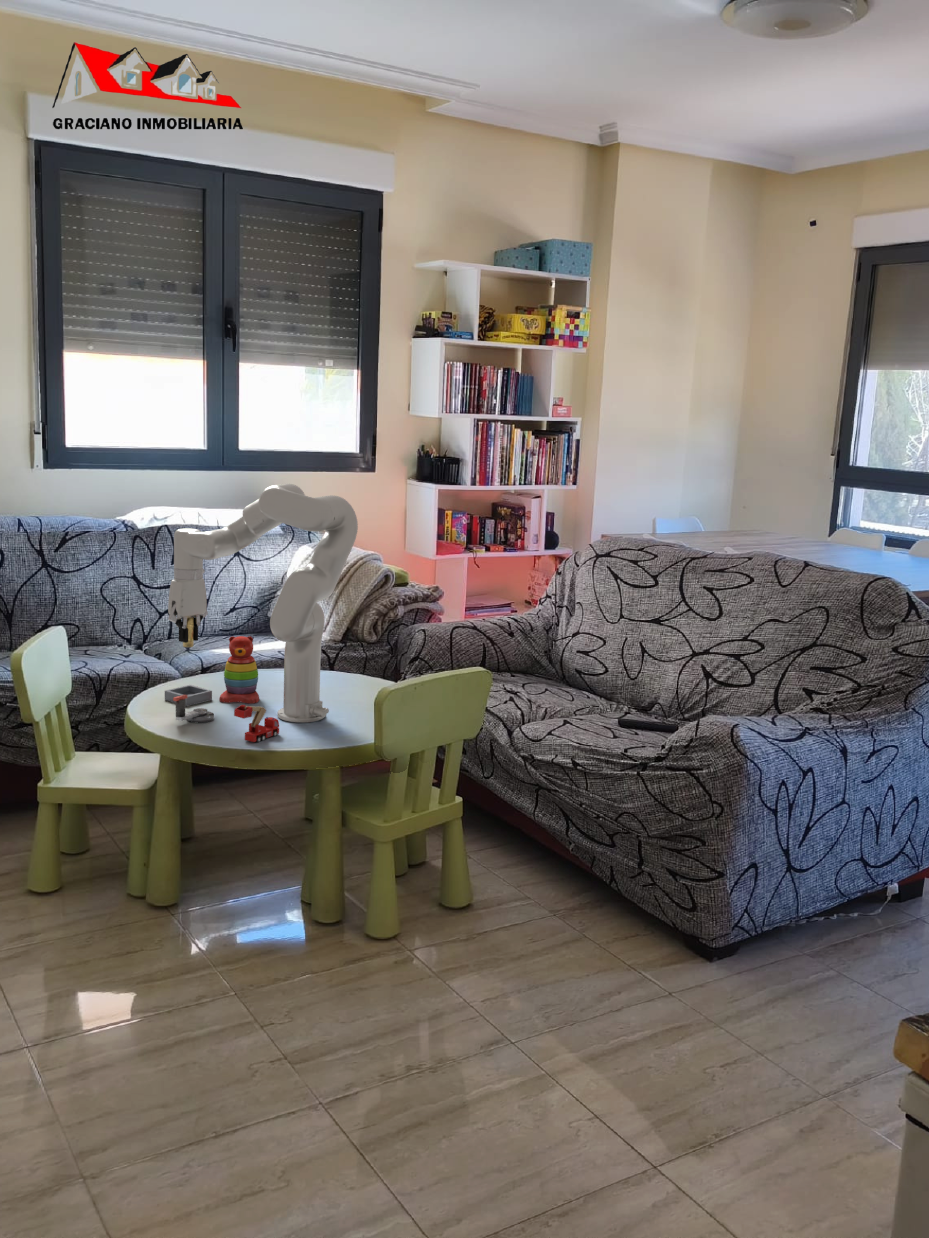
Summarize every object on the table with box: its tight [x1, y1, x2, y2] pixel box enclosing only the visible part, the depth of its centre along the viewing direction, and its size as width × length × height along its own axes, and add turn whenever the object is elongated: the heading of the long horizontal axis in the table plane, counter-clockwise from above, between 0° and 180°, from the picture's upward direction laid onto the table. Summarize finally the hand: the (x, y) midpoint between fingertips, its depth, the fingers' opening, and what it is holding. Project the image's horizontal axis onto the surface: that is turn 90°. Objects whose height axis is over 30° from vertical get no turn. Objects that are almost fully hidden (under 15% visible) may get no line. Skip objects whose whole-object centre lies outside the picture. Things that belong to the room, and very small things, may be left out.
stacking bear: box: [218, 635, 260, 705], centre depth 304 cm, size 11×10×18 cm
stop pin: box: [182, 617, 195, 648], centre depth 298 cm, size 3×3×8 cm
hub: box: [186, 710, 215, 724], centre depth 284 cm, size 7×7×1 cm
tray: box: [164, 684, 213, 707], centre depth 301 cm, size 9×9×3 cm
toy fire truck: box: [233, 704, 280, 743], centre depth 269 cm, size 3×14×10 cm, turn 149°
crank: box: [173, 695, 208, 722], centre depth 281 cm, size 11×4×6 cm, turn 149°
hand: (188, 640), depth 298 cm, fingers closed on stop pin, 2 cm apart
